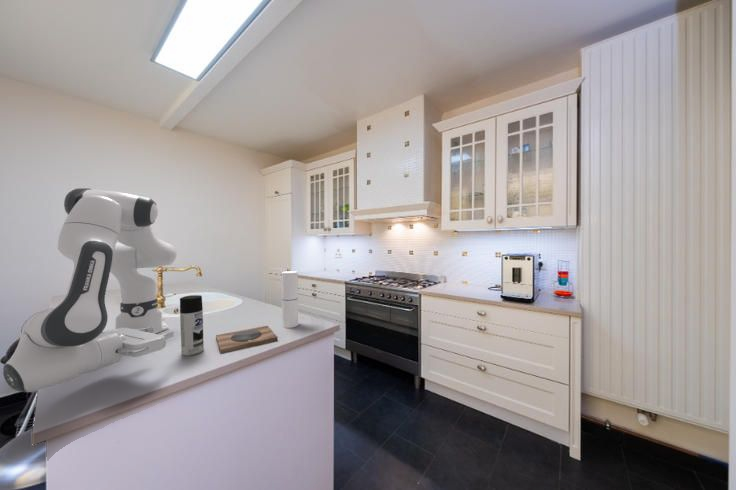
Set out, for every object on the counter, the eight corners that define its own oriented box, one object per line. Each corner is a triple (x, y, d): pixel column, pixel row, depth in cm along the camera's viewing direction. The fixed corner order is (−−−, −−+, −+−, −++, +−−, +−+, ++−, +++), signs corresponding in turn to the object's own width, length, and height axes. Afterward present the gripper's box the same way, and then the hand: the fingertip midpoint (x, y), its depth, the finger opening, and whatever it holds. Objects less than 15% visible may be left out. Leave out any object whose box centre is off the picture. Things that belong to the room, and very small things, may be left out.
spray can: (195, 356, 89) (194, 299, 89) (176, 356, 90) (174, 299, 89) (207, 348, 96) (206, 294, 95) (189, 348, 96) (188, 294, 96)
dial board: (216, 338, 105) (216, 334, 105) (267, 328, 116) (267, 324, 116) (220, 353, 92) (220, 348, 92) (277, 340, 103) (277, 336, 103)
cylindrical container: (279, 327, 118) (278, 272, 117) (286, 322, 125) (286, 270, 124) (294, 328, 117) (293, 273, 116) (300, 323, 124) (300, 271, 123)
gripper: (129, 343, 67) (183, 325, 80) (85, 332, 74) (141, 318, 87) (130, 367, 67) (184, 346, 80) (85, 354, 74) (142, 336, 87)
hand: (161, 331), depth 83 cm, fingers open, 8 cm apart
